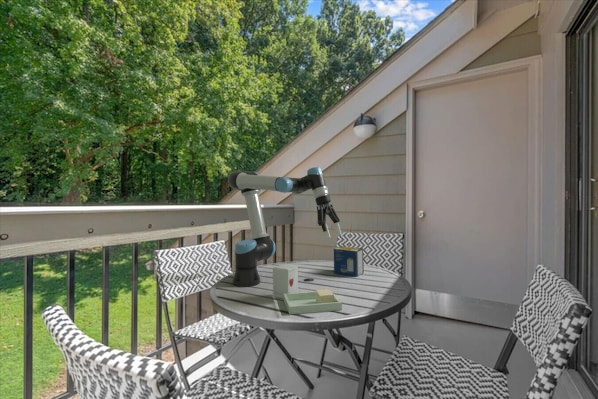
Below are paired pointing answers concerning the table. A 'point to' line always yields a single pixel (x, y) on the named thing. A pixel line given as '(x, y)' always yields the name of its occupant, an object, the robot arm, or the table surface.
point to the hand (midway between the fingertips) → (333, 236)
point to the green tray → (308, 303)
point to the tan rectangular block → (324, 296)
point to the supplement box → (285, 280)
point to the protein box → (348, 261)
